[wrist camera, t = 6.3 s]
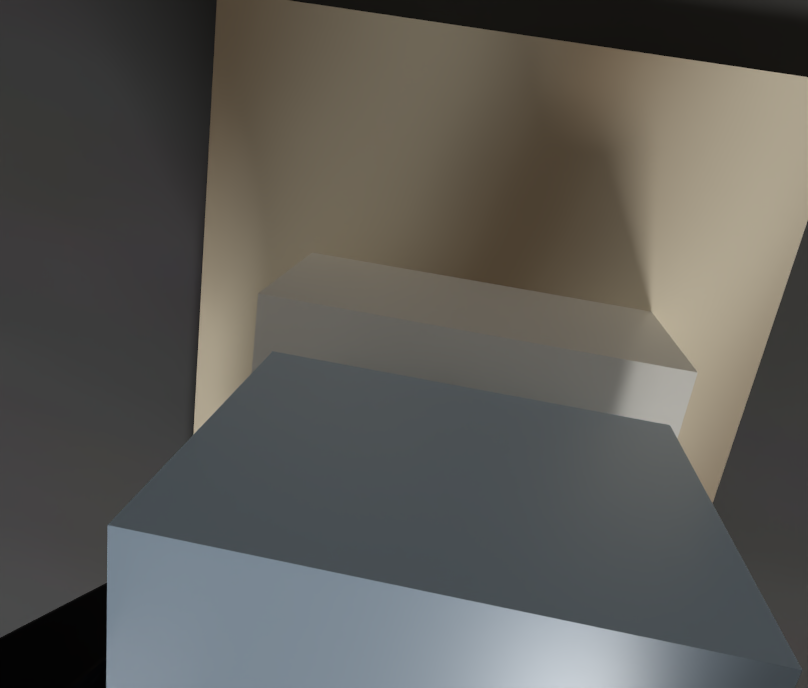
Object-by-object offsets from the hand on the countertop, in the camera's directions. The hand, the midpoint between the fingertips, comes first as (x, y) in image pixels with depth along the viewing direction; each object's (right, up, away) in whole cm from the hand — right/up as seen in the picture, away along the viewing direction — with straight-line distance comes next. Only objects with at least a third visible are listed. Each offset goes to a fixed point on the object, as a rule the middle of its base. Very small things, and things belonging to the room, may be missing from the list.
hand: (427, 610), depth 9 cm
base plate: (+1, +2, +6) cm, 6 cm away
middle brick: (0, 0, +1) cm, 1 cm away
